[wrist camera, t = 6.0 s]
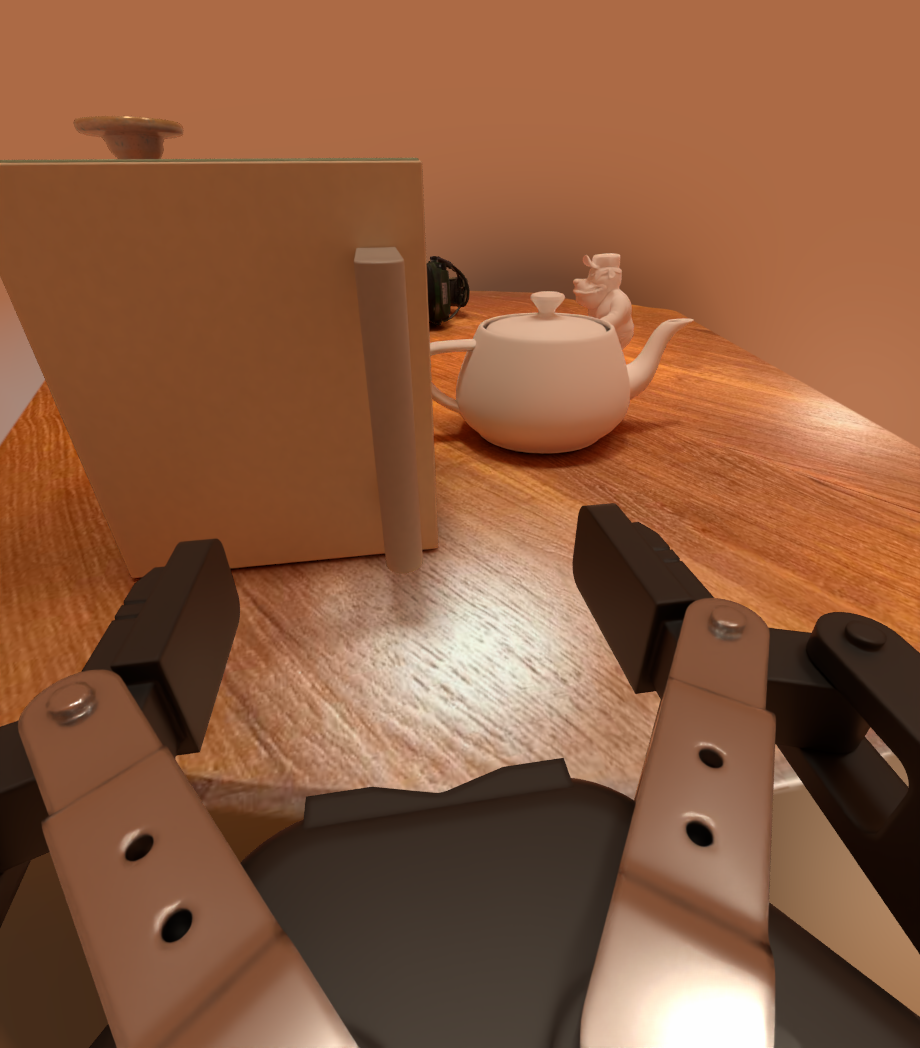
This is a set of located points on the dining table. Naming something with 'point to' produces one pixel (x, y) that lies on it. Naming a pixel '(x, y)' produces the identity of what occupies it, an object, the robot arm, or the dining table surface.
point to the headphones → (444, 290)
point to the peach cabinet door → (235, 350)
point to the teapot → (548, 377)
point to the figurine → (606, 295)
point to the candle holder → (130, 134)
